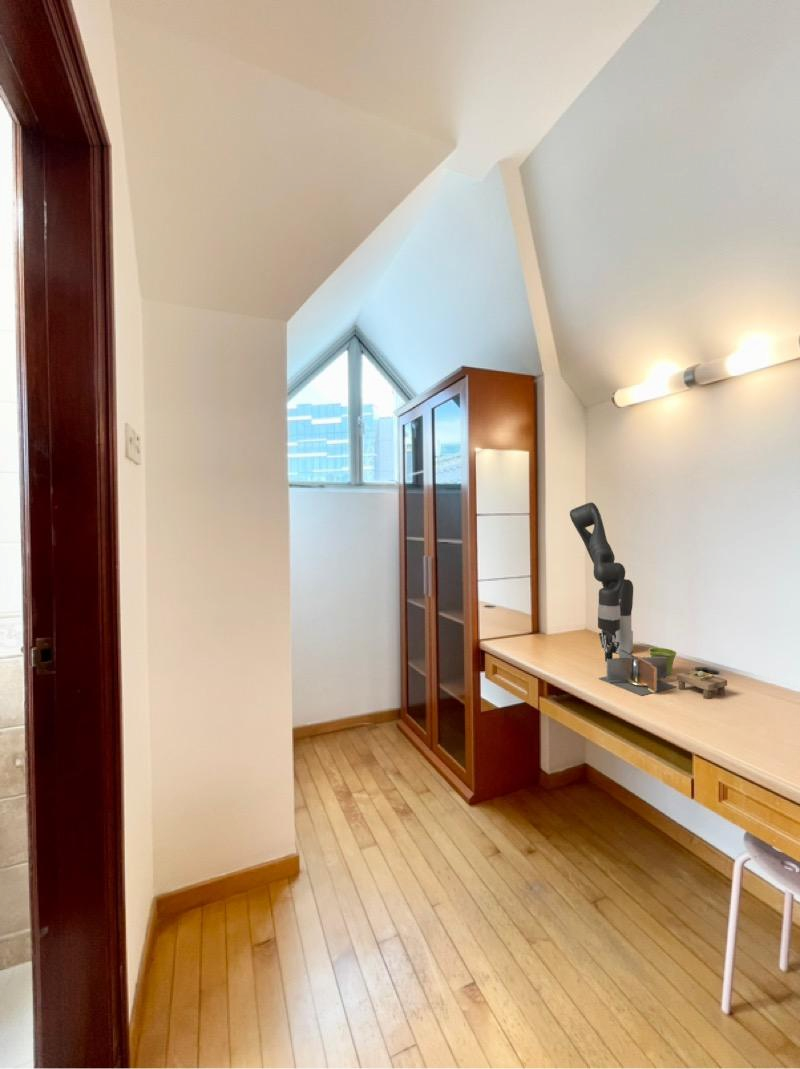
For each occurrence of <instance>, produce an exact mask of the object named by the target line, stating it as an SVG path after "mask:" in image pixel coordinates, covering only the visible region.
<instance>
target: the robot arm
mask: <svg viewBox="0 0 800 1069" xmlns="http://www.w3.org/2000/svg"><path fill="white" fill-rule="evenodd" d="M569 517H570V520H571V522H572V524H573V526H574V528H575V529H576V531H577V533H578V534H579V536H580V538H581V540H582V543H584V546H585V548H586V550H587V554H588V555H589V557H590V559H591V561H592V564H593V578H595V580H596V581H598V582H600V583H601V585H602V587H601V588H600V589H599V590H598V606H597V628H598V629H600V630H601V632H599V634H598V635H599V636H598V637H599V639H600V644H601V647H602V648H603V651H604V661H605V662H606V663H607V659H608V658H614V657H613V654H618V655H619V649H622V650H624V651H626V652H628V653H630V654H631V653H632V652H633V651H634V631H633V630H632V612H633V611H632V610H633V606H634V605H633V604H634V603H633V602H634V584H633V582H632V581H631V579H627V578H626V579H625V577H626V568H625V566H624V565H623V564H622V563H620V562H615V559H616V557H615V554H614V552H613V549H612V547H611V545H610V544H609V542H608V539H607V536H606V531H605V527H604V523H603V520H602V516H601V513H600V511H599V509H598V506H597V505H596V503H594V502H587V503H585V504H582V505H580V506H577V507H574V508H572V509H570V511H569ZM593 525H594V526H593ZM591 526H593V530H592V532H590V531H589V530H588V529H587V528H589V527H591Z"/></svg>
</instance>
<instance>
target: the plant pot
mask: <svg viewBox="0 0 800 1069" xmlns="http://www.w3.org/2000/svg"><path fill="white" fill-rule="evenodd" d="M648 652H649V654H650V657H666V658H667V676H670V675H672V673H673V666H674V660H675V658H676V656H677V654H678V653H677V652H676V651H675V650H673V649H669V648H664V647H650V648H648Z"/></svg>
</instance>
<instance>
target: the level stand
mask: <svg viewBox="0 0 800 1069" xmlns="http://www.w3.org/2000/svg"><path fill="white" fill-rule="evenodd" d="M675 679H676V681H678V683H677V684H678V685H677V686H678V687H677V688H678V689H679V690H682V691H685V690H686V684H687V685H690V686H692V687H697V688H699V689H702V695H703V699H707V700H710V699H711V697H712V696H711V695H712V694H711V691H713V690H717V694H718V695H721V696H725V692H726V687H727V686H728V679H724V678H721V677H718V676H715V675H714V674H711V673H707V672H706V671H703V670H689V671H686V672H681V673H678V674H676V676H675Z"/></svg>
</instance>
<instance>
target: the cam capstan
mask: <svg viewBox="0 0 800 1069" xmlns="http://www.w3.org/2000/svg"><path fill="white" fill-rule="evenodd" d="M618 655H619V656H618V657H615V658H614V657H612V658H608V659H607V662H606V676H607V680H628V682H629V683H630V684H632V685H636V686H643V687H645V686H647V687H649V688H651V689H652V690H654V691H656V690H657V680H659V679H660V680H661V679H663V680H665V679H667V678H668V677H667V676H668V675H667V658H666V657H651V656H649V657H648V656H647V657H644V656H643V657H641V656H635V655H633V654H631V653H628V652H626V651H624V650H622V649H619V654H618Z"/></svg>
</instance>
